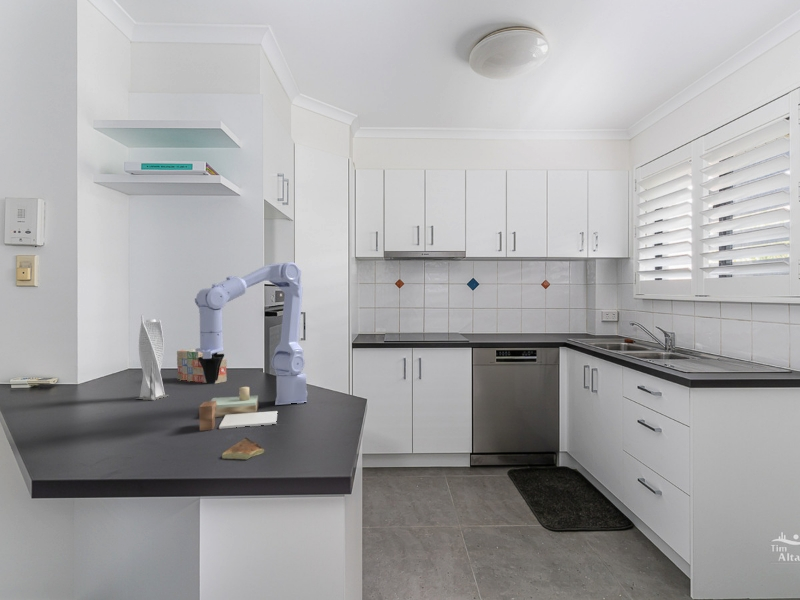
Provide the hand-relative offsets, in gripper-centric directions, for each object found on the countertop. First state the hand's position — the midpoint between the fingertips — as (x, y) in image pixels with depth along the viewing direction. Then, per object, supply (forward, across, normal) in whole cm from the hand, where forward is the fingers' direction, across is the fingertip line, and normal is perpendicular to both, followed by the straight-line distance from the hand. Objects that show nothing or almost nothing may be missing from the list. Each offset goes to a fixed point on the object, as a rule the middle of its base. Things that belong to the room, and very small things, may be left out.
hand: (212, 381), depth 123 cm
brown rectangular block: (+10, +6, 0) cm, 12 cm away
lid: (+8, -8, +4) cm, 12 cm away
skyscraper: (+11, -36, -25) cm, 45 cm away
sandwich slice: (+11, +29, +10) cm, 33 cm away
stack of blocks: (+11, -65, -14) cm, 67 cm away
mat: (+10, +4, +10) cm, 15 cm away
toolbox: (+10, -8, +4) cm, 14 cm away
